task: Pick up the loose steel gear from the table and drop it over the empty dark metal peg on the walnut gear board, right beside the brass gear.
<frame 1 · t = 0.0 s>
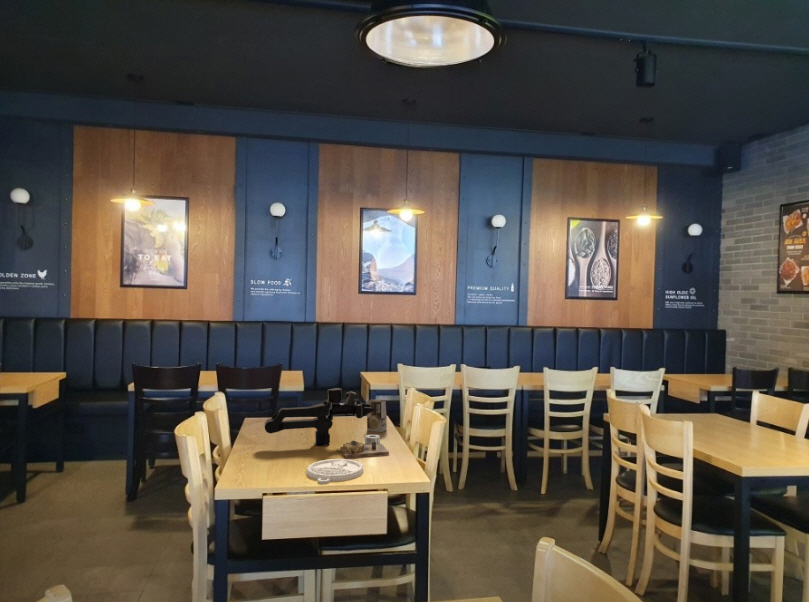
hand: (372, 407, 285), 17 cm above the table, tool horizontal, fingers open, 9 cm apart
gear board: (364, 452, 264), on the table
steel gear: (372, 443, 279), on the table
coffee box: (376, 430, 306), on the table
medallion: (333, 474, 234), on the table
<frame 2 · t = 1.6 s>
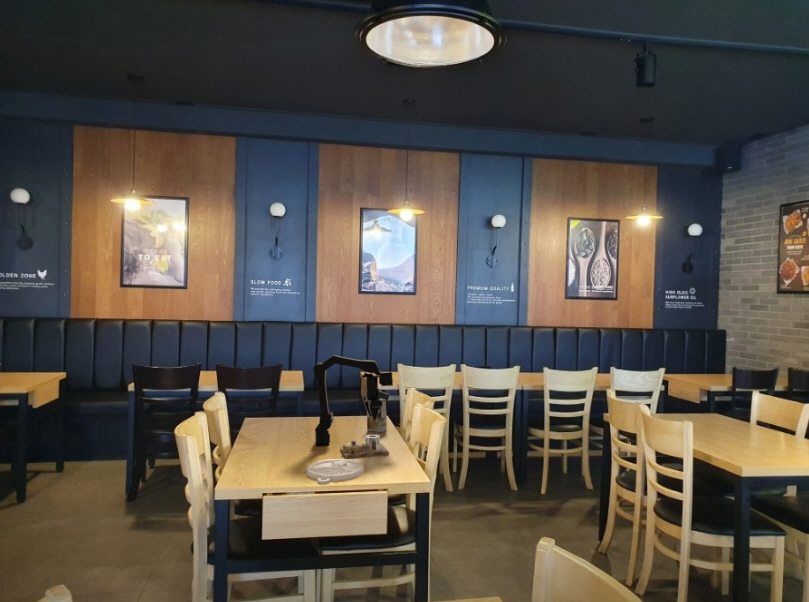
hand: (372, 418, 279), 13 cm above the table, tool pointing down, fingers open, 9 cm apart
nothing on the table moved.
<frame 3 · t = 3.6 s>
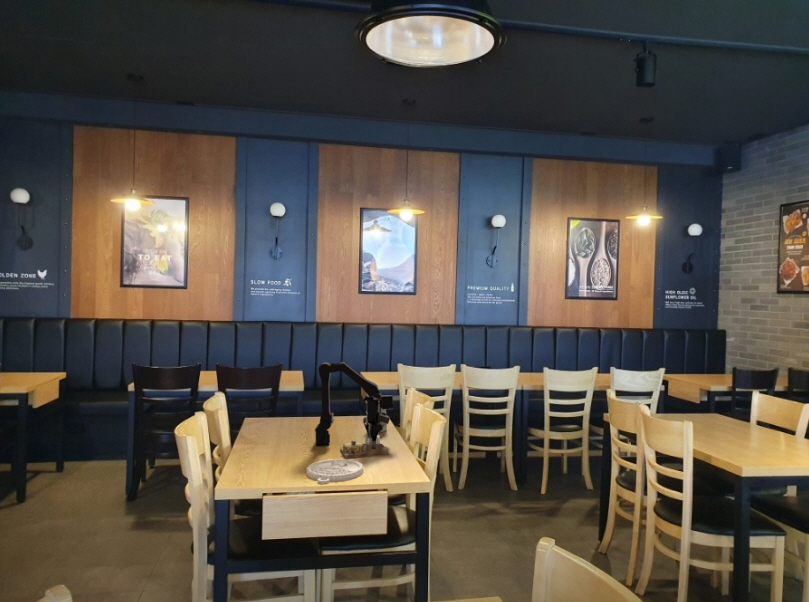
hand: (372, 441, 279), 1 cm above the table, tool pointing down, fingers closed on steel gear, 7 cm apart
steel gear: (372, 443, 279), on the table, touching gripper
everything else where it was.
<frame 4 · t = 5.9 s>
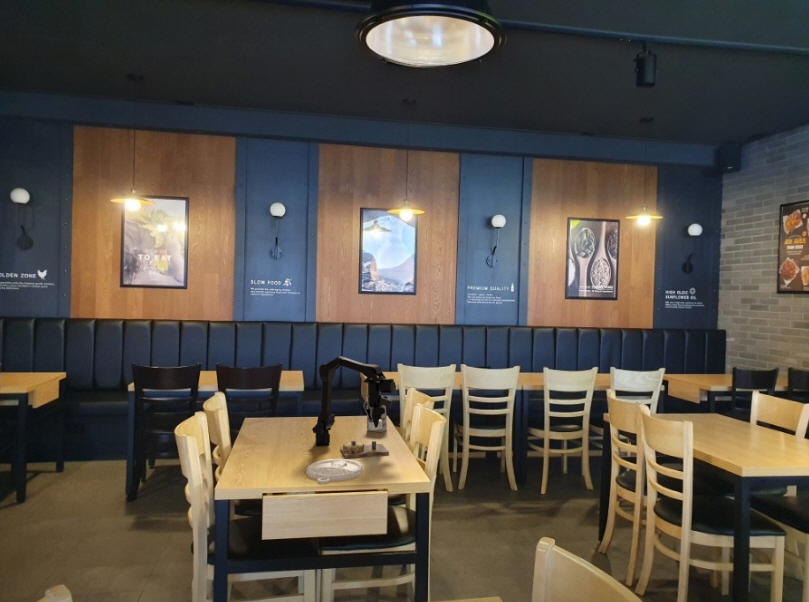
hand: (374, 425, 267), 12 cm above the table, tool pointing down, fingers closed on steel gear, 7 cm apart
steel gear: (374, 428, 267), point 11 cm above the table, touching gripper
everything else where it was.
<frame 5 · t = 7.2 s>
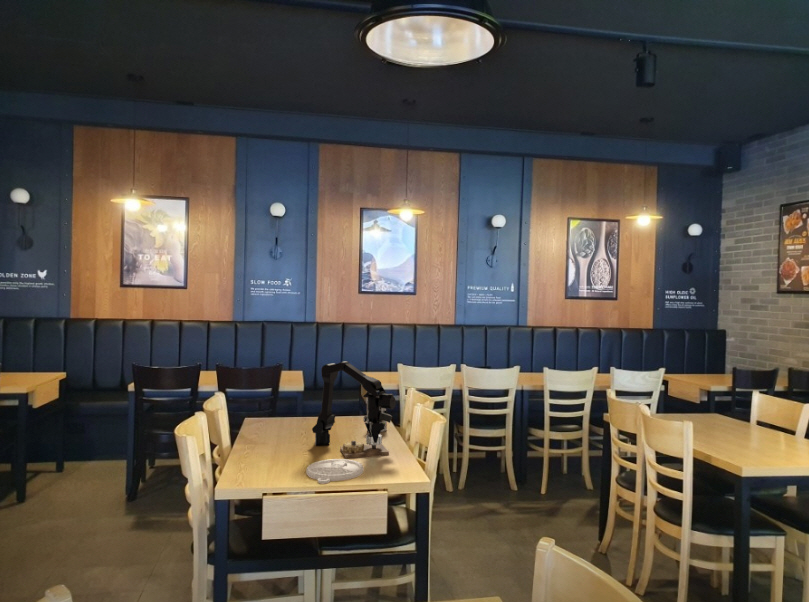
hand: (373, 440, 265), 5 cm above the table, tool pointing down, fingers closed on steel gear, 7 cm apart
steel gear: (374, 443, 265), point 4 cm above the table, touching gripper
everything else where it was.
when the fingers open (4 cm above the table, at t = 8.4 s): steel gear drops 1 cm, resting on gear board.
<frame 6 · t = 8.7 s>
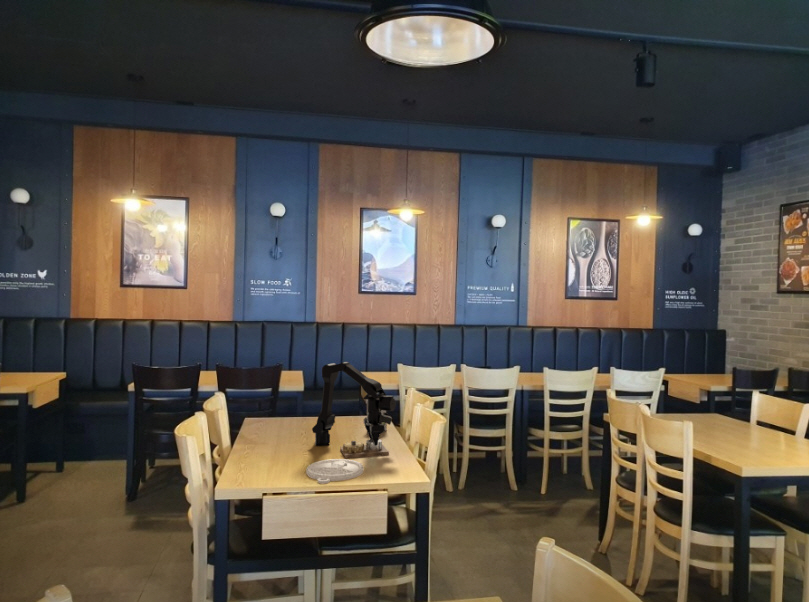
hand: (373, 442, 265), 4 cm above the table, tool pointing down, fingers open, 9 cm apart
steel gear: (374, 448, 265), point 1 cm above the table, touching gear board
everything else where it was.
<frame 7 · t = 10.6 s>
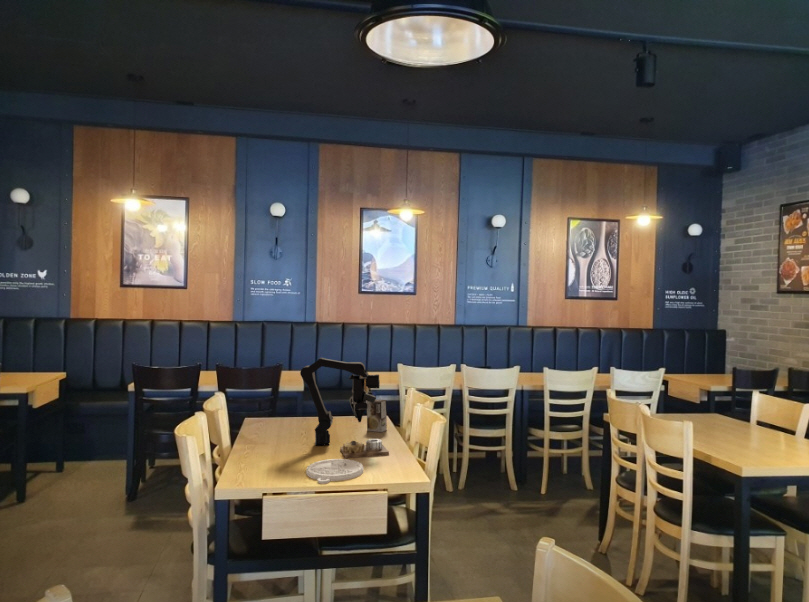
hand: (358, 420, 278), 12 cm above the table, tool pointing down, fingers open, 9 cm apart
nothing on the table moved.
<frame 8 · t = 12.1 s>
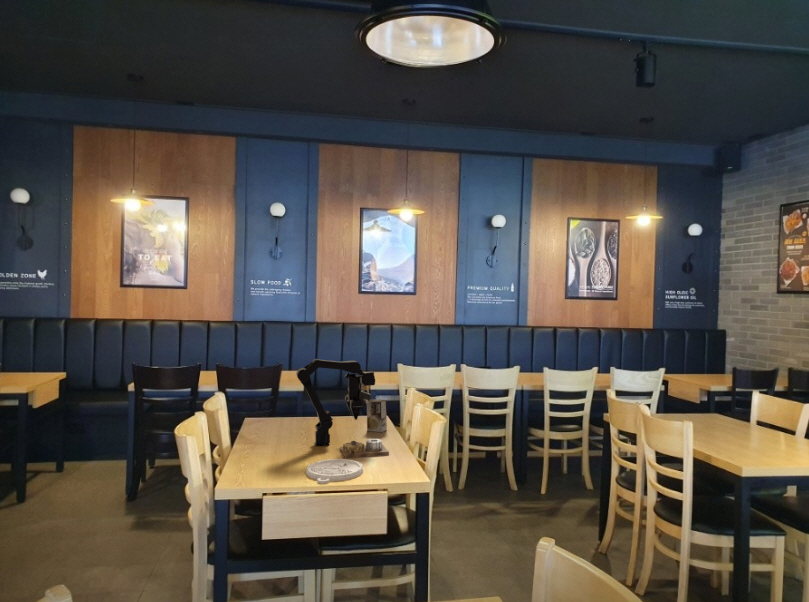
hand: (354, 417, 283), 12 cm above the table, tool pointing down, fingers open, 9 cm apart
nothing on the table moved.
at the end: steel gear 0.1 cm from the target spot on the gear board, point 1.5 cm above the gear board's base; steel gear tilted 0°; the gripper is holding nothing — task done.
